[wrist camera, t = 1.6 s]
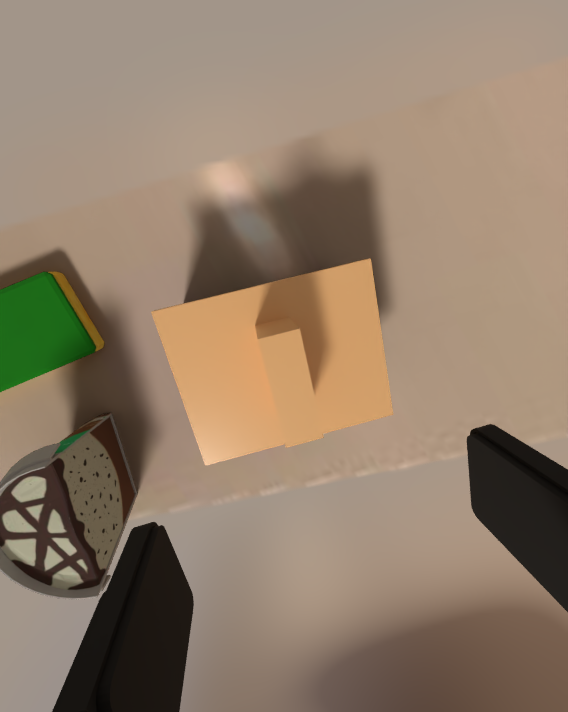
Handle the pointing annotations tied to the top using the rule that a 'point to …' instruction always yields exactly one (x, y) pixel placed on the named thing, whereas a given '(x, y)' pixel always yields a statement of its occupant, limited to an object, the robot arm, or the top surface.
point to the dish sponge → (42, 328)
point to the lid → (279, 360)
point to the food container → (66, 512)
